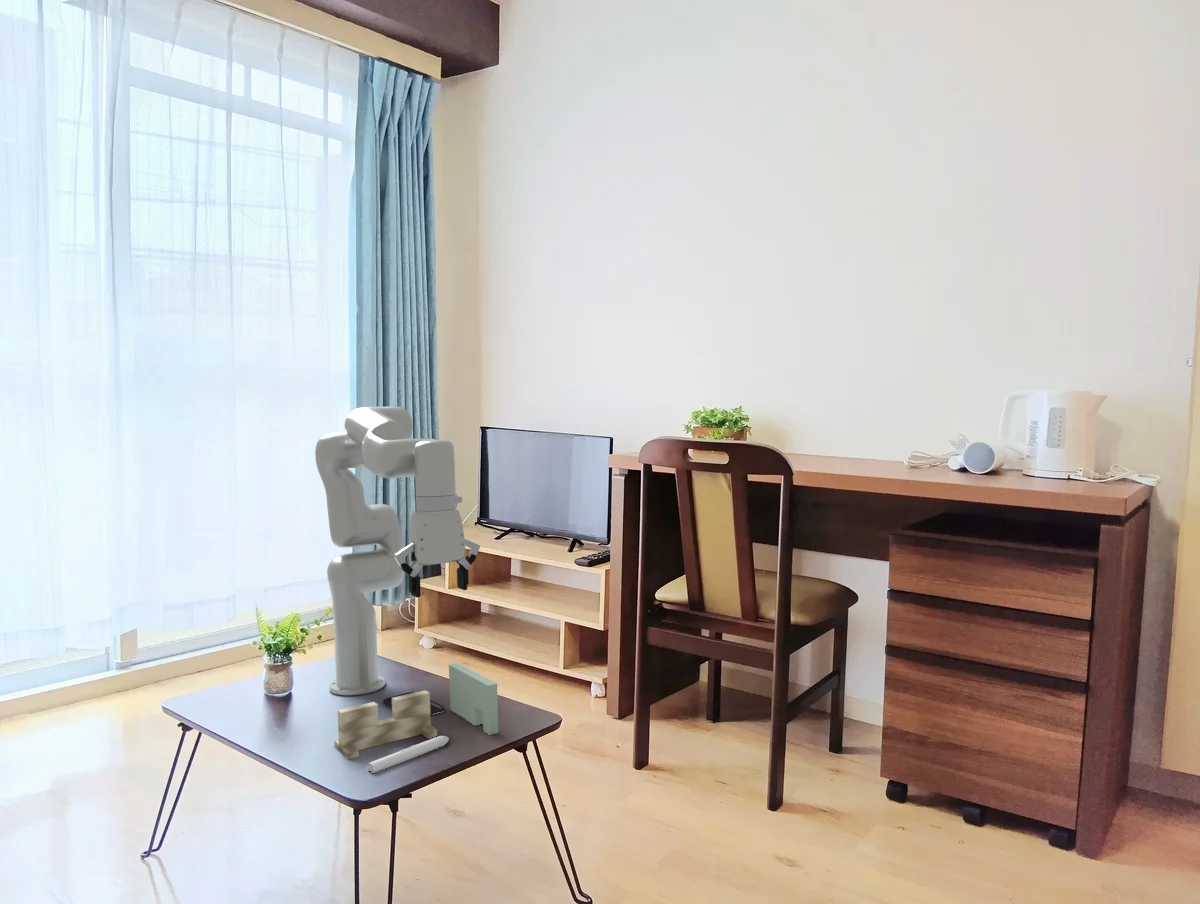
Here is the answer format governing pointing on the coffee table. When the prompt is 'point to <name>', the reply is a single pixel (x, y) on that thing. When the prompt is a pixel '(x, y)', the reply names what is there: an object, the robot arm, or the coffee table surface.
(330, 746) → the coffee table surface
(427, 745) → the marker
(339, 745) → the slotted wooden stand
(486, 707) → the mint green slab
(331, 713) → the coffee table surface
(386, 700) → the phone
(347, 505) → the robot arm
